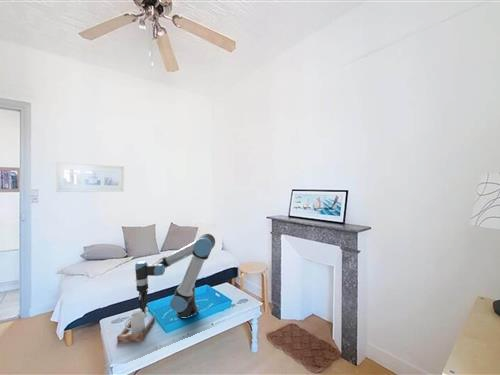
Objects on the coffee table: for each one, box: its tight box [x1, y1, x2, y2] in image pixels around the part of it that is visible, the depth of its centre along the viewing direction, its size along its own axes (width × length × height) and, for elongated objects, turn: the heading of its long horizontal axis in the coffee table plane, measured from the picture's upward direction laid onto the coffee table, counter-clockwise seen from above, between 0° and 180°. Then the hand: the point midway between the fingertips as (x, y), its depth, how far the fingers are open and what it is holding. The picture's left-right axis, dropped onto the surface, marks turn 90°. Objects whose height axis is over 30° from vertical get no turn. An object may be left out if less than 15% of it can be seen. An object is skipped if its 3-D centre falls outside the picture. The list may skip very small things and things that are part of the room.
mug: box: [124, 310, 146, 334], centre depth 167 cm, size 12×8×12 cm
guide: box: [116, 316, 156, 344], centre depth 169 cm, size 15×24×4 cm, turn 2°
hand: (144, 316), depth 179 cm, fingers closed
